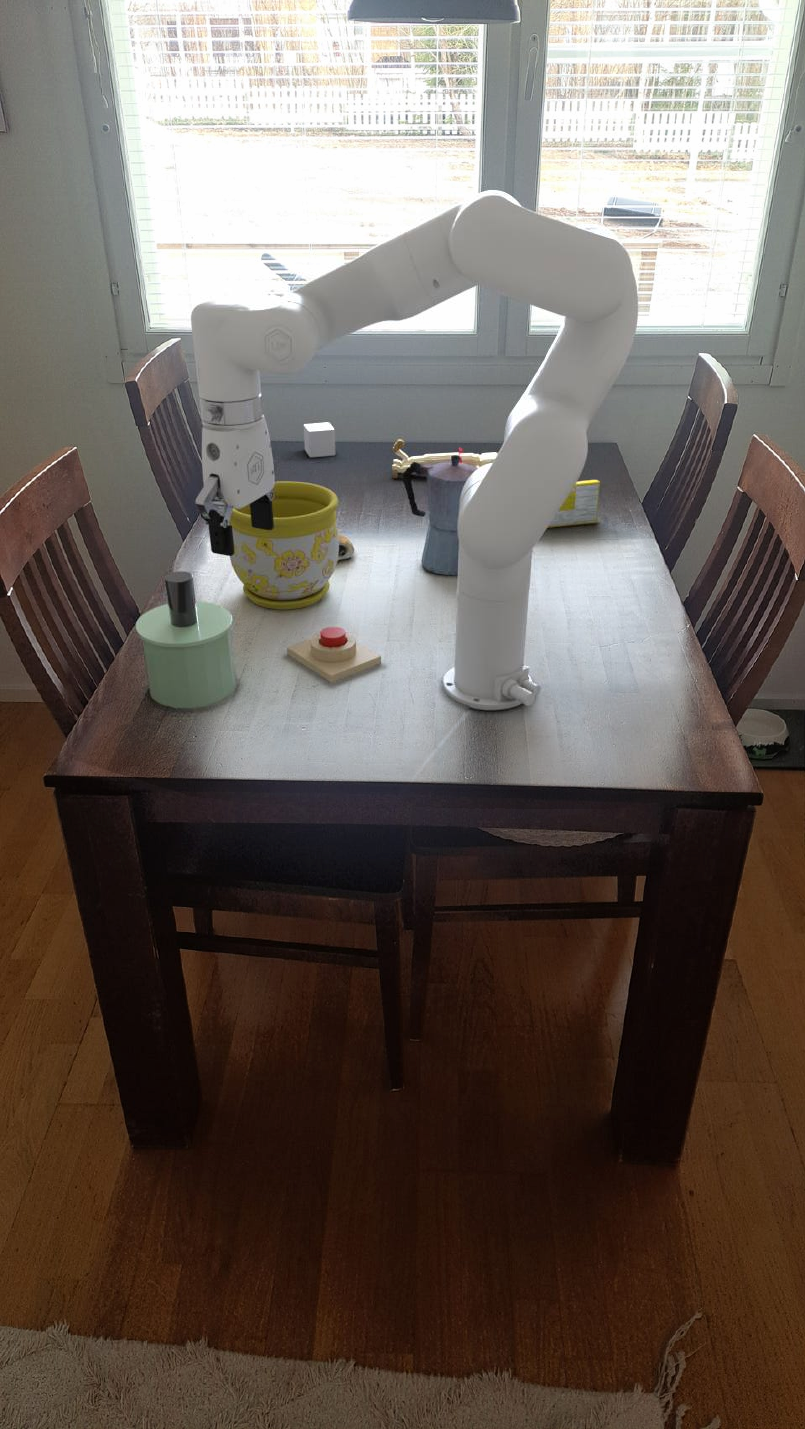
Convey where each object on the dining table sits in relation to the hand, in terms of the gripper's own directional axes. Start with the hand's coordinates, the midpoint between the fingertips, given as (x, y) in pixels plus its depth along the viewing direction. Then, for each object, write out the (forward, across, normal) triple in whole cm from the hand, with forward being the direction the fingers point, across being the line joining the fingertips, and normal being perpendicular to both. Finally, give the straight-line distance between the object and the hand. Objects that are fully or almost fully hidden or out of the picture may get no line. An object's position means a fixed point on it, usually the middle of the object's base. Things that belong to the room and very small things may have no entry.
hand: (243, 540), depth 133 cm
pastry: (+21, +45, +11) cm, 51 cm away
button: (+18, +9, -8) cm, 21 cm away
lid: (+11, -7, +6) cm, 14 cm away
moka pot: (+21, +48, -9) cm, 53 cm away
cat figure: (+21, +94, +8) cm, 97 cm away
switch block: (+21, +9, -8) cm, 24 cm away
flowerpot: (+21, +26, +10) cm, 35 cm away
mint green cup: (+21, -7, +6) cm, 23 cm away
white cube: (+21, +98, +42) cm, 108 cm away
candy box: (+21, +76, -21) cm, 81 cm away
